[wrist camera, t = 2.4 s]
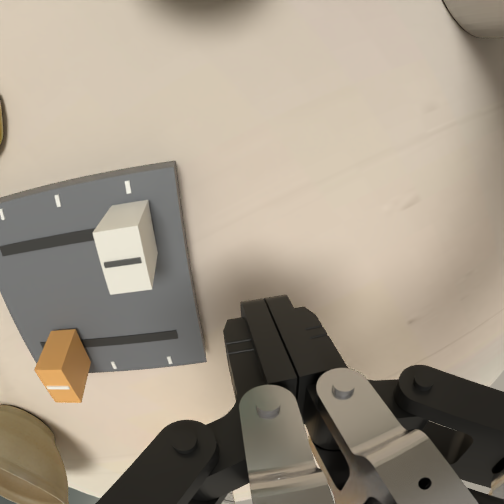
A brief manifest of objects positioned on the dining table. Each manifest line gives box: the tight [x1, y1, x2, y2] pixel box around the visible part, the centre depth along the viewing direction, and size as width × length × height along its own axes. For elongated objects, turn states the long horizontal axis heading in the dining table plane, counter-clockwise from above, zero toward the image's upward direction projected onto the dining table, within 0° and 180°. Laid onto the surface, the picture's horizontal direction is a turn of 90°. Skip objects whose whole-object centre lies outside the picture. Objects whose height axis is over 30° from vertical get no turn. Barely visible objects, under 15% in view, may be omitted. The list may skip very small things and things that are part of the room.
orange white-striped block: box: [35, 329, 91, 403], centre depth 20 cm, size 2×4×5 cm, turn 3°
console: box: [0, 161, 207, 373], centre depth 22 cm, size 16×16×3 cm
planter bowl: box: [0, 405, 69, 504], centre depth 25 cm, size 16×16×11 cm
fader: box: [93, 200, 158, 295], centre depth 17 cm, size 2×4×5 cm, turn 4°
